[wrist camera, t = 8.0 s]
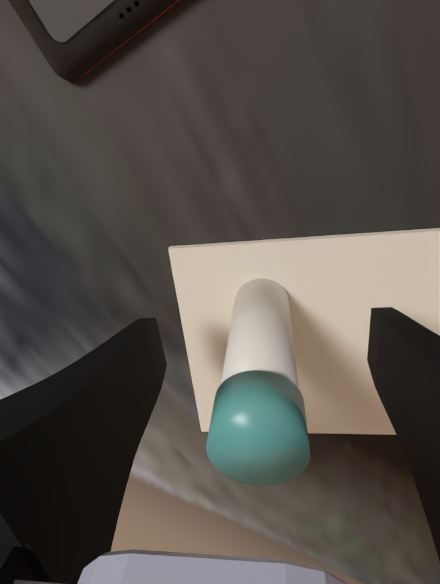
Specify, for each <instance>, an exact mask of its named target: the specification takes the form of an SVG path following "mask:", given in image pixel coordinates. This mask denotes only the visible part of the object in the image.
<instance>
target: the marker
mask: <svg viewBox="0 0 440 584" xmlns="http://www.w3.org/2000/svg"><path fill="white" fill-rule="evenodd" d="M206 450H207V455H208V458H209V460H210V461H211V463H212V464H213V466H214V467H215V468H216V469H217V470H219V471H220V472H221V473H222V474H224V475H226V476H227V477H229V478H231V479H233V480H236V481H239V482H242V483H246V484H250V485H259V486H269V485H277V484H282V483H285V482H288V481H290V480H292V479H294V478H296V477H298V476H299V475H300V474H301V473H302V472H303V471H304V470H305V469H306V468H307V466H308V464H309V461H310V447H309V439H308V431H307V423H306V415H305V407H304V399H303V396H302V394H301V392H300V390H299V388H298V379H297V370H296V361H295V352H294V343H293V334H292V325H291V316H290V307H289V299H288V295H287V293H286V291H285V289H284V288H283V287H282V286H281V285H280V284H278V283H277V282H275V281H273V280H270V279H264V278H259V279H253V280H250V281H248V282H246V283H245V284H243V285H242V286H241V287H240V288H239V289H238V291H237V293H236V295H235V300H234V306H233V312H232V319H231V325H230V331H229V337H228V343H227V349H226V355H225V361H224V367H223V373H222V379H221V385H220V386H219V388H218V389H217V391H216V394H215V399H214V405H213V410H212V416H211V422H210V427H209V433H208V439H207V444H206Z"/></svg>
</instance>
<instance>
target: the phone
mask: <svg viewBox="0 0 440 584" xmlns="http://www.w3.org/2000/svg"><path fill="white" fill-rule="evenodd" d="M9 1H10V3H11V5H12V6H13V8H14V9H15V11H16V13H17V14H18V16H19V17H20V19H21V20H22V22H23V24H24V25H25V27H26V28H27V30H28V31H29V33H30V35H31V36H32V38H33V39H34V41H35V43H36V44H37V46H38V47H39V49H40V50H41V52H42V54H43V55H44V57H45V58H46V60H47V62H48V63H49V65H50V66H51V68H52V69H53V70H54V72H55V73H56V74H57V75H59V76H60V77H62V78H64V79H66V80H70V81H71V80H78V79H80V78H82V77H83V76H84V75H85V74H87V73H88V72H89V71H91V70H92V69H93V68H94V67H96V66H97V65H98V64H99V63H101V62H102V61H103V60H105V59H106V58H107V57H108V56H110V55H111V54H112V53H113V52H115V51H116V50H117V49H119V48H120V47H121V46H122V45H124V44H125V43H126V42H127V41H129V40H130V39H131V38H133V37H134V36H135V35H136V34H138V33H139V32H140V31H141V30H143V29H144V28H145V27H147V26H148V25H149V24H150V23H152V22H153V21H154V20H155V19H157V18H158V17H159V16H161V15H162V14H163V13H164V12H166V11H167V10H168V9H169V8H171V7H172V6H173V5H174V4H176V3H177V2H178V1H180V0H9Z"/></svg>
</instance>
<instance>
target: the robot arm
mask: <svg viewBox="0 0 440 584" xmlns="http://www.w3.org/2000/svg"><path fill="white" fill-rule="evenodd" d="M367 362H368V365H369V369H370V372H371V376H372V379H373V382H374V386H375V388H376V391H377V393H378V395H379V397H380V400H381V402H382V404H383V406H384V408H385V411H386V413H387V415H388V417H389V419H390V422H391V424H392V426H393V428H394V430H395V433H396V435H397V437H398V439H399V441H400V444H401V446H402V448H403V450H404V453H405V455H406V458H407V460H408V463H409V465H410V468H411V471H412V474H413V477H414V480H415V483H416V486H417V489H418V492H419V495H420V498H421V502H422V505H423V508H424V511H425V514H426V517H427V521H428V524H429V527H430V530H431V533H432V537H433V540H434V544H435V547H436V550H437V554H438V557H439V561H440V336H439V335H438V334H436V333H434V332H433V331H431V330H429V329H428V328H426V327H424V326H423V325H421V324H419V323H418V322H416V321H415V320H413V319H411V318H410V317H408V316H407V315H405V314H403V313H402V312H400V311H398V310H396V309H394V308H392V307H382V308H371V317H370V329H369V342H368V354H367ZM166 366H167V364H166V359H165V355H164V351H163V346H162V342H161V338H160V334H159V329H158V325H157V321H156V318H144V319H138V320H136V321H135V322H133V323H131V324H130V325H128V326H127V327H126V328H124V329H123V330H121V331H120V332H118V333H117V334H116V335H114V336H113V337H111V338H110V339H109V340H107V341H106V342H104V343H103V344H101V345H100V346H99V347H97V348H96V349H94V350H93V351H91V352H89V353H88V354H86V355H85V356H83V357H82V358H80V359H79V360H77V361H76V362H74V363H73V364H71V365H69V366H68V367H66V368H64V369H62V370H61V371H59V372H57V373H55V374H53V375H51V376H50V377H48V378H46V379H44V380H42V381H40V382H38V383H36V384H34V385H32V386H30V387H27V388H25V389H23V390H21V391H19V392H17V393H14V394H12V395H10V396H8V397H6V398H3V399H1V400H0V584H346V583H345V582H344V581H343V580H341V579H339V578H337V577H336V576H334V575H333V574H331V573H329V572H328V571H326V570H324V569H323V568H321V567H319V566H315V565H310V564H305V563H300V562H295V561H291V560H286V559H271V558H256V557H239V556H225V555H209V554H195V553H178V552H164V551H148V550H125V551H115V552H110V550H111V546H112V541H113V537H114V533H115V529H116V524H117V520H118V516H119V512H120V508H121V504H122V500H123V496H124V492H125V489H126V485H127V481H128V478H129V475H130V471H131V468H132V464H133V460H134V457H135V454H136V451H137V449H138V446H139V443H140V441H141V438H142V436H143V433H144V431H145V428H146V426H147V423H148V421H149V418H150V416H151V413H152V411H153V408H154V406H155V403H156V401H157V398H158V396H159V393H160V390H161V387H162V383H163V379H164V375H165V370H166Z"/></svg>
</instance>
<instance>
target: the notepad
mask: <svg viewBox="0 0 440 584" xmlns="http://www.w3.org/2000/svg"><path fill="white" fill-rule="evenodd" d="M168 250H169V256H170V261H171V267H172V272H173V278H174V283H175V289H176V294H177V300H178V305H179V311H180V316H181V322H182V327H183V333H184V338H185V344H186V349H187V354H188V360H189V365H190V371H191V376H192V382H193V387H194V393H195V398H196V404H197V409H198V415H199V420H200V426H201V431H204V432H209V427H210V422H211V416H212V410H213V405H214V399H215V394H216V391H217V389H218V388H219V386H220V385H221V379H222V373H223V367H224V361H225V355H226V349H227V343H228V337H229V331H230V325H231V319H232V312H233V306H234V300H235V295H236V293H237V291H238V289H239V288H240V287H241V286H242V285H243V284H245V283H246V282H248V281H250V280H253V279H259V278H264V279H270V280H273V281H275V282H277V283H278V284H280V285H281V286H282V287H283V288H284V289H285V291H286V293H287V295H288V299H289V307H290V316H291V325H292V334H293V343H294V352H295V361H296V370H297V379H298V388H299V390H300V392H301V394H302V396H303V399H304V407H305V415H306V423H307V431H308V433H325V434H385V435H396V433H395V430H394V428H393V426H392V424H391V422H390V419H389V417H388V415H387V413H386V411H385V408H384V406H383V404H382V402H381V400H380V397H379V395H378V393H377V391H376V388H375V386H374V382H373V379H372V376H371V372H370V369H369V365H368V362H367V354H368V342H369V329H370V317H371V308H382V307H392V308H394V309H396V310H398V311H400V312H402V313H403V314H405V315H407V316H408V317H410V318H411V319H413V320H415V321H416V322H418V323H419V324H421V325H423V326H424V327H426V328H428V329H429V330H431V331H433V332H434V333H436V334H438V335H439V336H440V228H433V229H418V230H403V231H388V232H374V233H359V234H344V235H329V236H314V237H300V238H285V239H270V240H255V241H241V242H226V243H211V244H196V245H181V246H170V247H169V248H168Z"/></svg>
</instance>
